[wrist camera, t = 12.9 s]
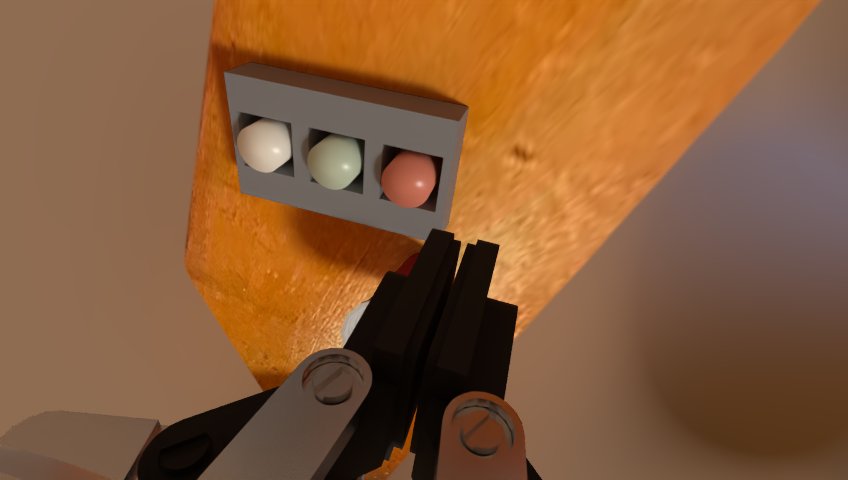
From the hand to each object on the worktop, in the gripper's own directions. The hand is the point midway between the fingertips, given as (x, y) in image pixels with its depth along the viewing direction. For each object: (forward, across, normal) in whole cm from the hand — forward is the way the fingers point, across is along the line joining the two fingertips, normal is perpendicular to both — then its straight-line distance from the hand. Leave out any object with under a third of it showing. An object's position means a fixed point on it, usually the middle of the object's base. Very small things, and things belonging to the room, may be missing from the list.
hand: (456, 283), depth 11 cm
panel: (+29, +15, +11) cm, 35 cm away
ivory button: (+29, +22, +11) cm, 38 cm away
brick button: (+29, +8, +11) cm, 32 cm away
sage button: (+29, +15, +11) cm, 34 cm away
